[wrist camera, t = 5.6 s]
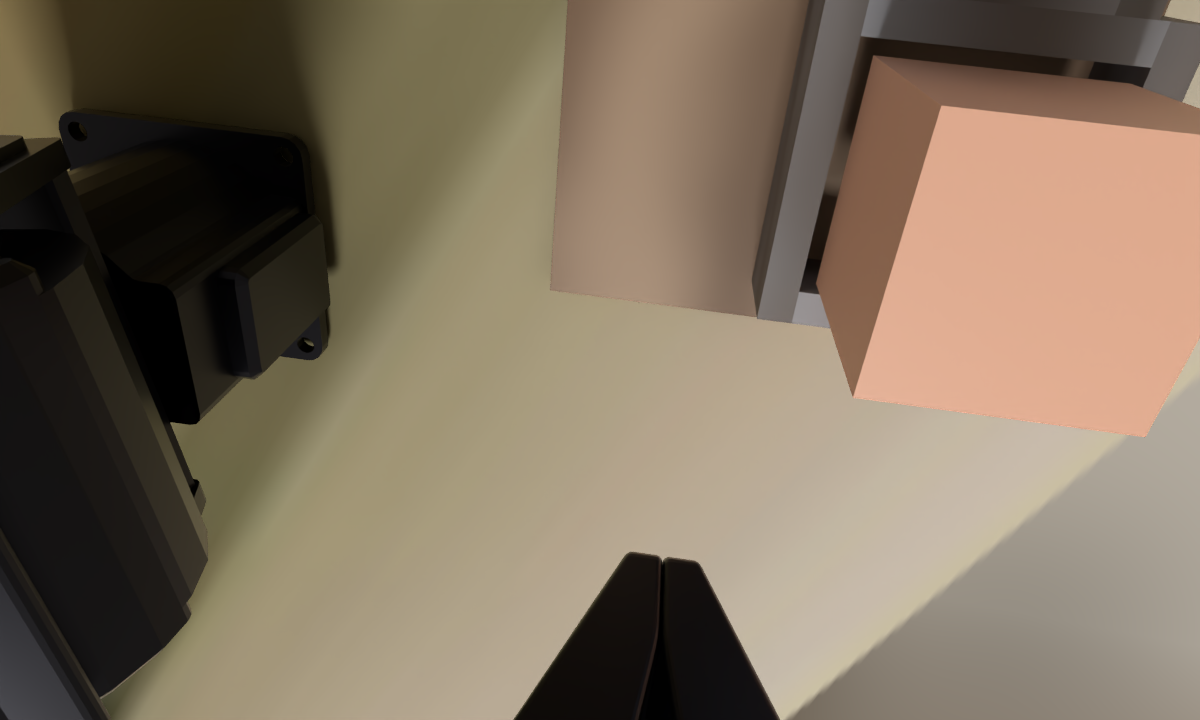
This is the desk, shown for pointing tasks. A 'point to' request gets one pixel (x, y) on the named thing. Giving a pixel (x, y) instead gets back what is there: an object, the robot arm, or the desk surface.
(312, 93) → the desk surface
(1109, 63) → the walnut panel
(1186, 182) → the peach cube
